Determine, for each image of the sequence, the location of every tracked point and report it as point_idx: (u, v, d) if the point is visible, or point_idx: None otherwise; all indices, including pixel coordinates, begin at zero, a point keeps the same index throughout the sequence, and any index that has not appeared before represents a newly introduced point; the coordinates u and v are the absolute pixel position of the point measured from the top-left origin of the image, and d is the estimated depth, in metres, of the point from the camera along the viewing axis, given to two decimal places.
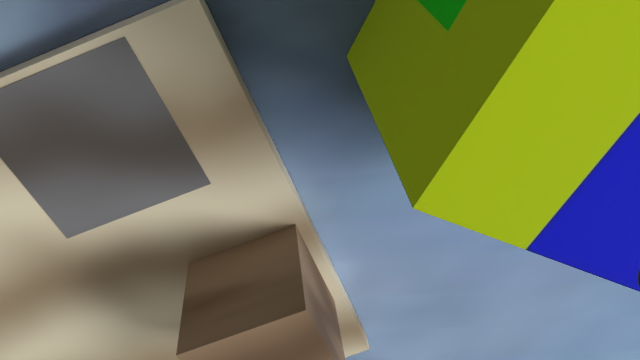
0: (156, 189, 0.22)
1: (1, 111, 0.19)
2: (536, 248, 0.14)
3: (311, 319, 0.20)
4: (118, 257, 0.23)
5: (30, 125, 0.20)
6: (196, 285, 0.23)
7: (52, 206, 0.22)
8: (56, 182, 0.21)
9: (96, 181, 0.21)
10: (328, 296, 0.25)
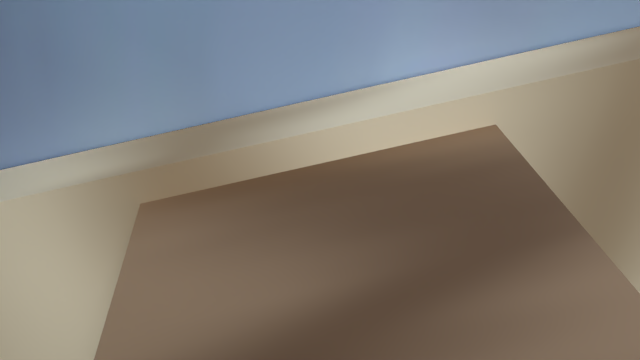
0: None
1: None
2: None
3: None
4: None
5: None
6: None
7: None
8: None
9: None
10: (429, 170, 0.07)
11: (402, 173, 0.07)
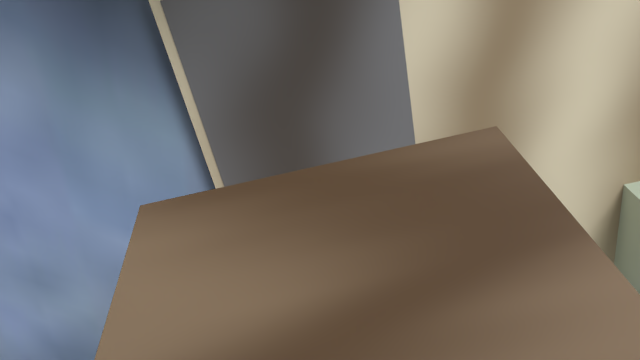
0: (381, 26, 0.16)
1: (238, 159, 0.18)
2: None
3: None
4: (467, 104, 0.18)
5: (260, 138, 0.17)
6: None
7: (368, 151, 0.18)
8: (337, 137, 0.18)
9: (348, 94, 0.17)
10: (430, 171, 0.07)
11: (403, 175, 0.07)
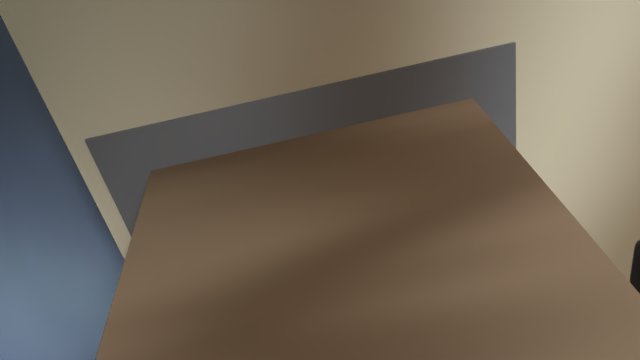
0: None
1: None
2: None
3: None
4: None
5: None
6: None
7: None
8: None
9: None
10: (411, 136, 0.08)
11: (387, 140, 0.08)
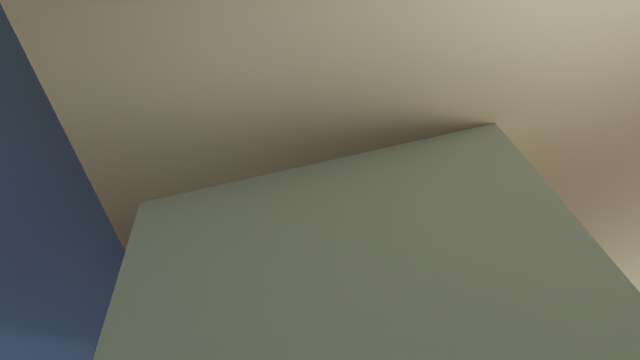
0: None
1: None
2: None
3: None
4: None
5: None
6: None
7: None
8: None
9: None
10: None
11: None
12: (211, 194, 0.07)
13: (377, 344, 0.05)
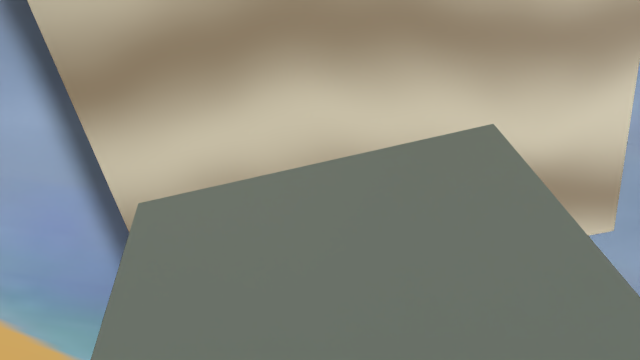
0: None
1: None
2: None
3: None
4: (391, 2, 0.16)
5: None
6: None
7: None
8: None
9: None
10: None
11: None
12: (209, 194, 0.07)
13: (373, 344, 0.05)
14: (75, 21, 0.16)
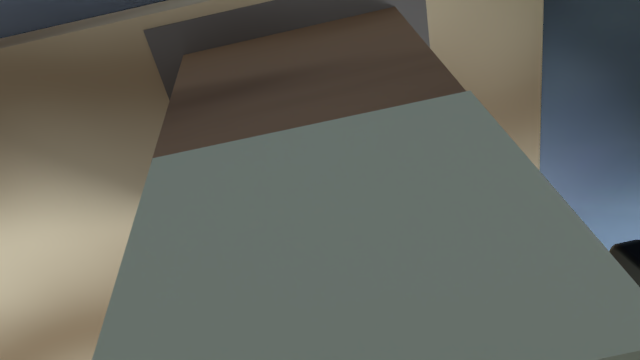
0: None
1: (203, 49, 0.13)
2: None
3: None
4: None
5: None
6: (200, 76, 0.11)
7: None
8: None
9: None
10: None
11: None
12: (216, 150, 0.08)
13: (358, 258, 0.06)
14: None
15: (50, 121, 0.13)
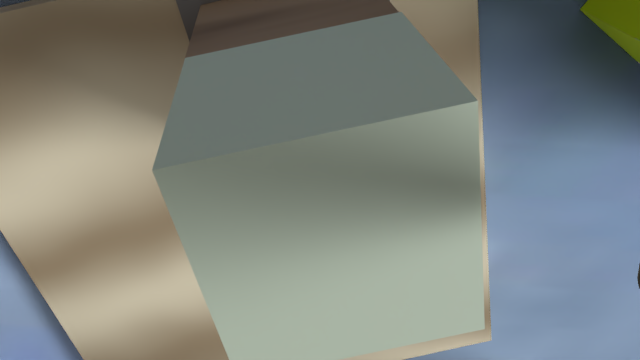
0: None
1: (216, 0, 0.17)
2: None
3: None
4: None
5: None
6: (214, 15, 0.15)
7: None
8: None
9: None
10: None
11: None
12: (229, 51, 0.12)
13: (316, 88, 0.10)
14: (29, 225, 0.20)
15: (97, 58, 0.17)
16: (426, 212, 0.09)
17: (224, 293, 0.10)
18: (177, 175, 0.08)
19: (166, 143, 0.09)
